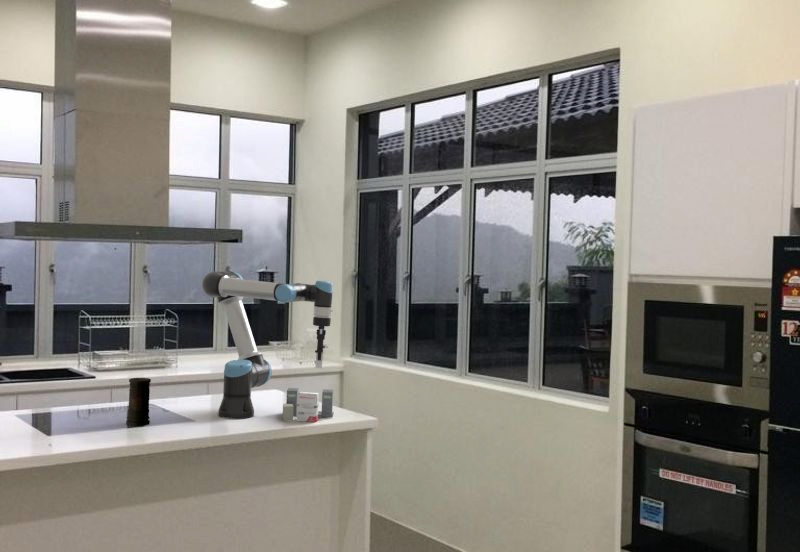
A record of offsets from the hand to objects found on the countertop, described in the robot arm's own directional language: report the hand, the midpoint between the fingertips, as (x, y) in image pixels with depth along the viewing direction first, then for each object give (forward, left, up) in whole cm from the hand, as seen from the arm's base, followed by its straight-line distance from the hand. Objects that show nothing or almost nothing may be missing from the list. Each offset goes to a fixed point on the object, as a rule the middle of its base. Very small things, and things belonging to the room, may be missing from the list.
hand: (318, 365), depth 343 cm
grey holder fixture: (-4, +7, -23) cm, 24 cm away
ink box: (-4, -4, -23) cm, 24 cm away
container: (-70, -24, -23) cm, 77 cm away
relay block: (-12, -3, -23) cm, 26 cm away
